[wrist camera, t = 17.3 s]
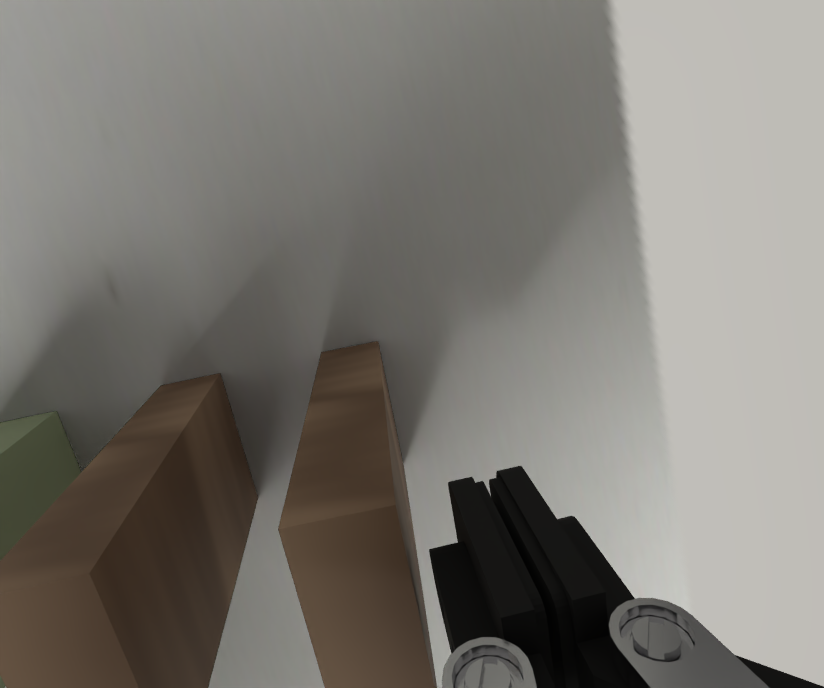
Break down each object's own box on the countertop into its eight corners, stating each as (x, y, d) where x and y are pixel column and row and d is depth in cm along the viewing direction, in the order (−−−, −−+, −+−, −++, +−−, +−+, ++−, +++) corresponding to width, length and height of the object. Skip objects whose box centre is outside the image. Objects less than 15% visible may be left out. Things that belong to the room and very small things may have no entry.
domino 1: (203, 510, 20) (74, 815, 10) (161, 385, 18) (-38, 602, 9) (258, 497, 20) (182, 786, 10) (220, 373, 18) (88, 573, 9)
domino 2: (351, 477, 20) (341, 744, 10) (321, 352, 18) (277, 529, 9) (403, 466, 20) (442, 721, 10) (378, 341, 19) (395, 504, 9)
